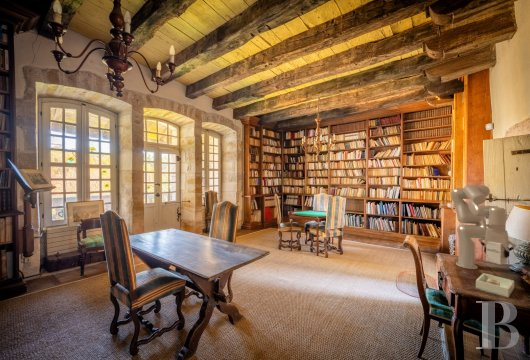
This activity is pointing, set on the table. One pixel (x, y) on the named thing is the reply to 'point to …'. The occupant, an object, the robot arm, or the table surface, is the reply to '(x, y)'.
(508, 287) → the tote
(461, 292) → the table surface
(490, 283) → the maple cube
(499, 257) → the supplement box
